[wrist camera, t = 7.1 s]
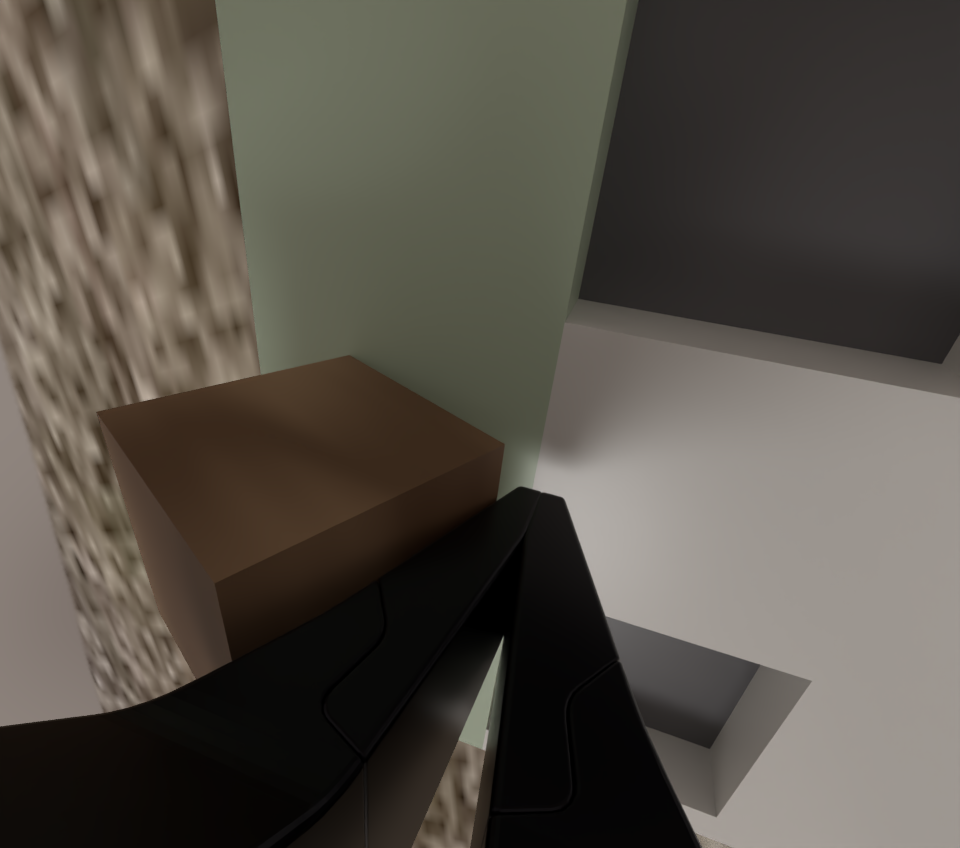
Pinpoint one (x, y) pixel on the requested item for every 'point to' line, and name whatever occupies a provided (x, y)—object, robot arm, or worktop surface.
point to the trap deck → (664, 343)
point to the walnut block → (287, 496)
